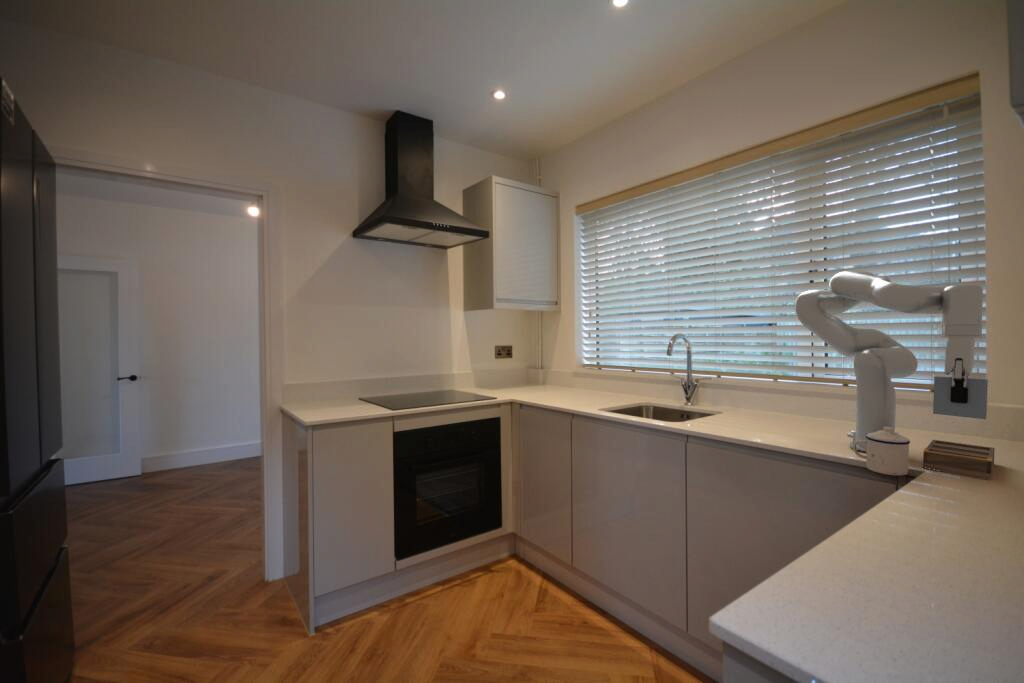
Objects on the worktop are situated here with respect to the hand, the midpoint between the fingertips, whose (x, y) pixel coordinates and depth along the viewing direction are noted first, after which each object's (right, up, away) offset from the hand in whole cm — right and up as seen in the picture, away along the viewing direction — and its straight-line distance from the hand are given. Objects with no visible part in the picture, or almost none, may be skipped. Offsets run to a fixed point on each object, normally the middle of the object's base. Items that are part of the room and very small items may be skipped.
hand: (959, 401), depth 122 cm
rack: (+5, -18, +5) cm, 20 cm away
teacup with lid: (-19, -19, +2) cm, 27 cm away
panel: (0, -4, 0) cm, 4 cm away
